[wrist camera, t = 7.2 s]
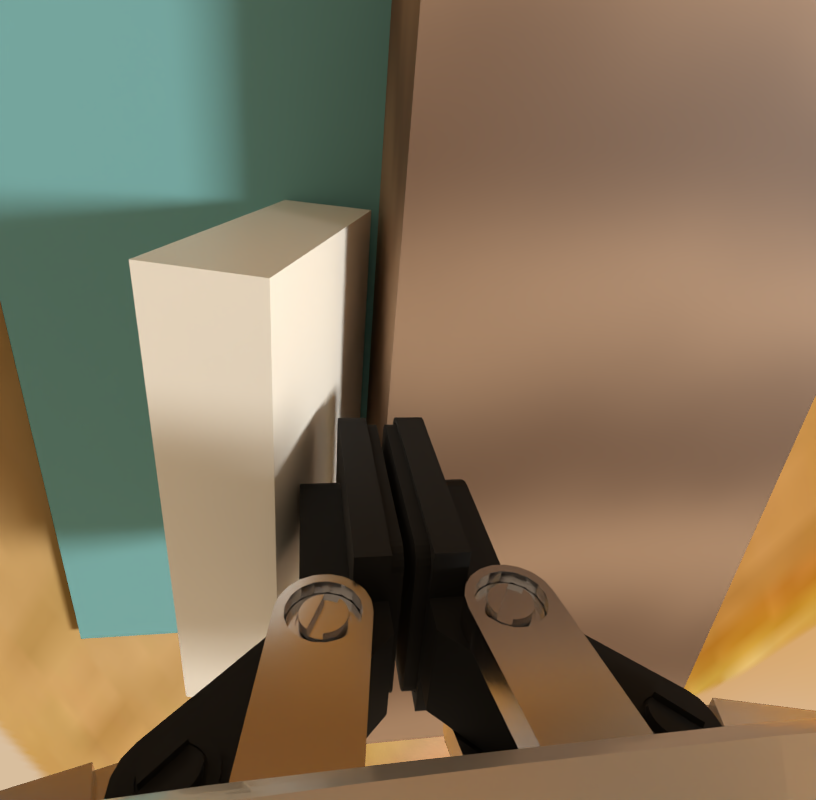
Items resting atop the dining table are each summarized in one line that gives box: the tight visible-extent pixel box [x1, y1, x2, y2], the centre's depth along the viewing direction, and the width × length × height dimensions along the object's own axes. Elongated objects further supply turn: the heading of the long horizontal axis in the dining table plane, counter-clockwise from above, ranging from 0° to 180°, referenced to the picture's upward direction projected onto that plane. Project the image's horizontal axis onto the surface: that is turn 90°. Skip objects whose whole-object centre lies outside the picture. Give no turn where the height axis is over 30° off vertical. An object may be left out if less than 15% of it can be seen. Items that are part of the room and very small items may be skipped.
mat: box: [0, 0, 392, 639], centre depth 15 cm, size 18×8×1 cm, turn 175°
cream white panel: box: [129, 200, 371, 697], centre depth 13 cm, size 9×6×2 cm
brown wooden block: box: [366, 0, 816, 744], centre depth 15 cm, size 20×10×4 cm, turn 175°
